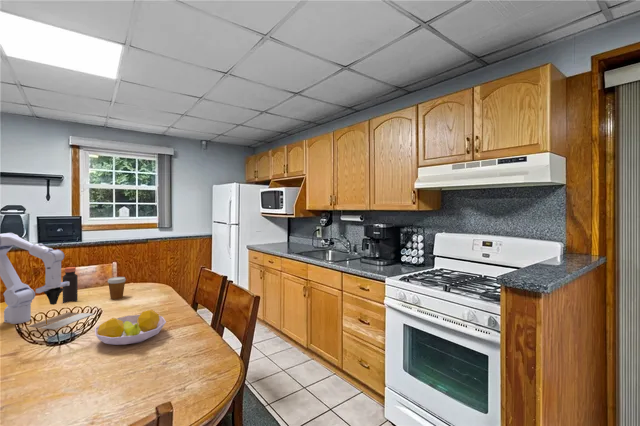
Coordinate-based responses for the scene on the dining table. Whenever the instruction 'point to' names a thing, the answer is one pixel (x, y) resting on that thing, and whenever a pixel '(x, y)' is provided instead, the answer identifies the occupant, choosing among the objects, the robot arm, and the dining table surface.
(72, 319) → the grey plank
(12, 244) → the robot arm
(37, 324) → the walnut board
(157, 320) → the fruit bowl
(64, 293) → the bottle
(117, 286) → the disposable coffee cup
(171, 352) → the dining table surface
